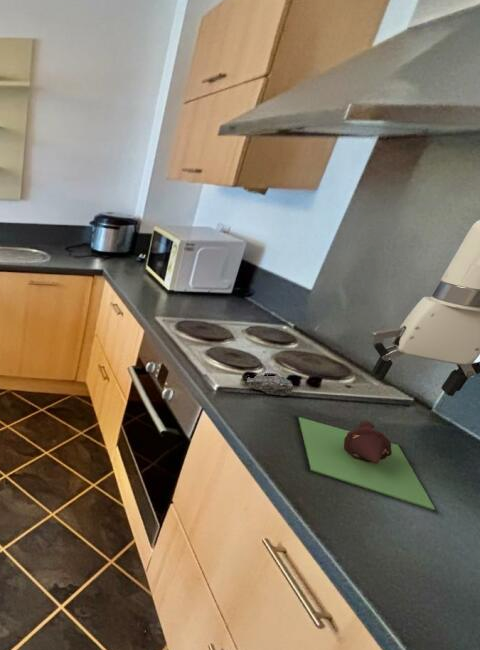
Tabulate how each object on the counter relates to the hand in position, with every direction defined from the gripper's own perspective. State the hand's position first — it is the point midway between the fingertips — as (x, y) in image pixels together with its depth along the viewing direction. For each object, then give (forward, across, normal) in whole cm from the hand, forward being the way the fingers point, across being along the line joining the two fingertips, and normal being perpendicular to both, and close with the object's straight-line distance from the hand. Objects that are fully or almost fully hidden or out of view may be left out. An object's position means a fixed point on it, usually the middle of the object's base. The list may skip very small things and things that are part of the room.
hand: (411, 384), depth 77 cm
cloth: (+18, +2, 0) cm, 18 cm away
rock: (+18, +16, -22) cm, 33 cm away
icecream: (+17, +1, +1) cm, 17 cm away
